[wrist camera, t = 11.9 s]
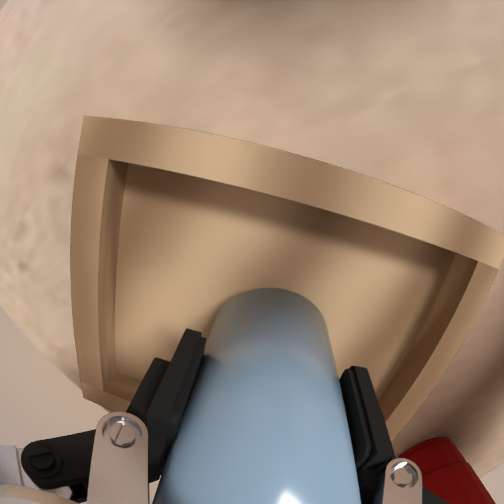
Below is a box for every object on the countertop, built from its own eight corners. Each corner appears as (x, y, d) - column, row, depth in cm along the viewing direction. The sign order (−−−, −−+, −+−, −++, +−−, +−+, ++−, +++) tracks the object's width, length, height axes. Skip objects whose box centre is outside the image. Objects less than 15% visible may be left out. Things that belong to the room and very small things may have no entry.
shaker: (348, 302, 12) (434, 609, 1) (306, 391, 14) (313, 625, 3) (222, 270, 12) (91, 608, 1) (201, 367, 14) (126, 604, 3)
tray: (476, 220, 12) (510, 237, 10) (365, 427, 17) (373, 461, 15) (119, 119, 12) (84, 115, 9) (103, 368, 17) (83, 397, 14)
